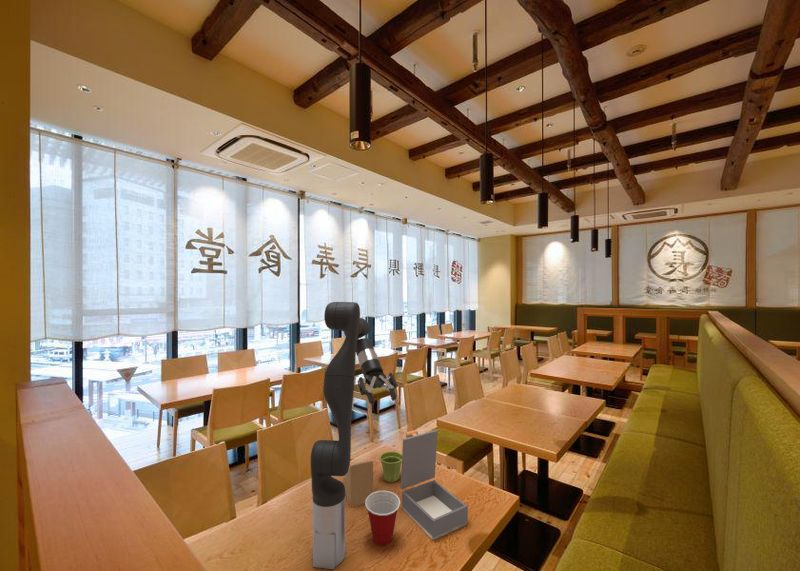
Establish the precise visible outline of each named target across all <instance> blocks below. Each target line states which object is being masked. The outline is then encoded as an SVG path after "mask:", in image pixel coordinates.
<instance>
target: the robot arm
mask: <svg viewBox="0 0 800 571" xmlns="http://www.w3.org/2000/svg"><path fill="white" fill-rule="evenodd" d="M324 323H325V325H326V327H327V328H328V329H329V330H333V331H342V332H343V334H344V335H345V336H344V337H345V338H344V341H343V343H342V345H341V347H339V350H338V351H337V352H336V354H335V355H334V357H333V358H332V359H331V360H330V362H329V363H328V365H327V366H326V369H325V371H324V377H323V379H324V380H323V381H324V382H323V387H322V388H323V391H322V392H323V397H324V400H325V402H326V404H327V405H328V407H329V410H330V412H331V413H332V416H333V417H334V419H335V422H336V425H337V431H338V432H337V433H338V440H333V439H332V440H331V439H319V440H316V441H315V442H314V443H313V445H312V447H311V453H310V477H311V493H312V562H313V563H312V567H313V568H318V569H326V570H335V569H336V567H337V566H339V565H340V564H341V563H342V562H343V561H344V559H345V557H346V495H345V486H344V484H343V482H342V481H341V480H339V479H337V478H335V477H346V475H347V473H348V471H349V468H350V466H351V456H352V455H351V453H352V451H351V449H352V413H353V412H352V410H353V404H354V403H353V400H354V389H355V377H356V357H357V361H358V364H359V367H360V369H361V373H362V375H363V376H362V377H361V376H360V377H359V378H358V380H357V382H356V383H357V386H358V389H359V392H360V395H361V396H366V397H367V400H368V403H369V404H370V405H371V406H373V405H375V403H376V399H375V397H374V394H373V392H372V391H373V390H372V389H374V390H376V389H380V388H382V389H384V390H386V391H388V394H389V396H390V399H391V401H392V402H394V401H396V400H397V398H398V397H397V393H396V391H395V390H396V389H397V387H398V383H397V381H396V379H395V377H394V375H393V373H392V372H389V373H388V374H385V373H384V368H383V367H382V365H381V362H380V361H381V360H380V359H379V356H378V354H377V353H376V351H375V349H374V346H373V343H372V341H371V340H370V339H369V338H367V337H365V336H367V335H368V334H370V331H371V326H370V324H369V322H368V321H367V320H366V319H365V318H361V307H360V305H359V303H358V302H355V301H333V302H329V303H327V305H326V306H325V309H324ZM363 337H365V338H363ZM365 384H367V389H366V385H365Z"/></svg>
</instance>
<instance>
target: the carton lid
mask: <svg viewBox="0 0 800 571" xmlns="http://www.w3.org/2000/svg"><path fill="white" fill-rule="evenodd" d="M438 433H439V431H438V430H437V429H434V430H430V431H428V432H427V431H426V432H423V433H420V434H419V432H418V430H417V429H413V430H410V431H409V430H408V431H407V432H406V433H405V436H406V438H402V448H401V449H402V451H401V452H402V453H401V454H402V463H401V467H400V489H401V490H404V489H407V488H409V487H412V486H415V485H418V484H421V483H425V482H426V481H429V480H431V479H435V477H436V466H437V465H436V463H437V462H436V461H437V451H438V450H437V449H438V448H437V447H438Z"/></svg>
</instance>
